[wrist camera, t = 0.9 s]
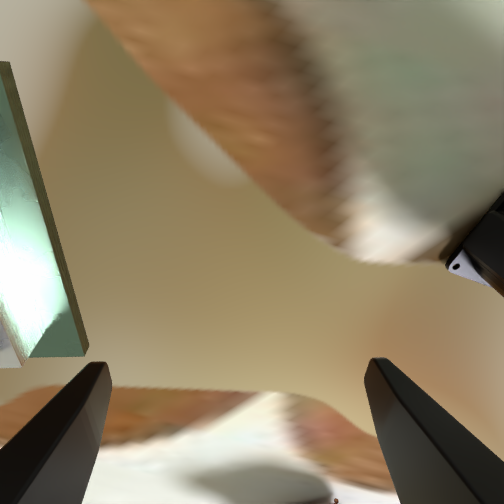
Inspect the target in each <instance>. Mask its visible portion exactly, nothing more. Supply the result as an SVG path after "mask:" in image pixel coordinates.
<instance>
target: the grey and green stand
mask: <svg viewBox="0 0 504 504" xmlns="http://www.w3.org/2000/svg"><path fill="white" fill-rule="evenodd" d="M88 348H89V342H88V339H87V335H86V332H85V328H84V325H83V321H82V317H81V314H80V310H79V307H78V304H77V300H76V296H75V293H74V289H73V285H72V282H71V279H70V275H69V271H68V268H67V264H66V261H65V257H64V254H63V251H62V247H61V243H60V239H59V236H58V232H57V229H56V225H55V222H54V218H53V215H52V211H51V208H50V204H49V200H48V197H47V193H46V190H45V186H44V183H43V179H42V175H41V172H40V168H39V165H38V161H37V158H36V154H35V151H34V147H33V144H32V140H31V137H30V133H29V129H28V126H27V122H26V119H25V116H24V112H23V108H22V105H21V101H20V98H19V94H18V91H17V87H16V83H15V80H14V76H13V73H12V69H11V65H10V62H4V61H0V368H21V367H22V366H23V365H24V363H25V361H26V360H27V359H28V358H29V357H77V356H78V357H80V356H85V354H86V352H87V350H88Z"/></svg>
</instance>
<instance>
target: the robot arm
mask: <svg viewBox="0 0 504 504" xmlns="http://www.w3.org/2000/svg"><path fill="white" fill-rule="evenodd" d="M455 264H456V265H455ZM453 265H455V266H453ZM445 266H446V268H447V269H448V270H449V271H450V272H451V273H454V274H456V275H460V276H462V277H465V278H467V279H470V280H473V281H476V282H478V283H481V284H484V285H487V286H490V287H492V288H494V289H495V290H496V291H497V292H498V293H499V294H501V295H502V296H503V297H504V193H503V194H502V195H501V196H500V197H499V199H498V200H497V201H496V202H495V204H494V205H493V206H492V207H491V208H490V210H489V211H488V212H487V213H486V214H485V216H484V217H483V218H482V219H481V221H480V222H479V223H478V224H477V225H476V227H475V228H474V229H473V230H472V231H471V233H470V234H469V235H468V236H467V238H466V239H465V240H464V241H463V242H462V244H461V245H460V246H459V247H458V248H457V250H456V251H455V252H454V253H453V255H452V256H451V257H450V258H449V259H448V261H447V262H446V264H445ZM364 384H365V388H366V393H367V397H368V401H369V405H370V409H371V413H372V417H373V422H374V426H375V430H376V434H377V437H378V441H379V444H380V447H381V450H382V453H383V455H384V458H385V461H386V464H387V467H388V470H389V472H390V475H391V478H392V481H393V484H394V486H395V489H396V492H397V495H398V498H399V500H400V503H401V504H504V462H503V461H502V460H501V459H500V458H499V457H498V456H497V455H495V454H494V453H493V452H492V451H491V450H490V449H489V448H488V447H486V446H485V445H484V444H483V443H482V442H481V441H480V440H479V439H477V438H476V437H475V436H474V435H473V434H472V433H471V432H470V431H468V430H467V429H466V428H465V427H464V426H463V425H462V424H460V423H459V422H458V421H457V420H456V419H455V418H454V417H453V416H452V415H450V414H449V413H448V412H447V411H446V410H445V409H444V408H442V407H441V406H440V405H439V404H438V403H437V402H436V401H435V400H433V399H432V398H431V397H430V396H429V395H428V394H427V393H426V392H424V391H423V390H422V389H421V388H420V387H419V386H418V385H417V384H415V383H414V382H413V381H412V380H411V379H410V378H409V377H408V376H406V375H405V374H404V373H403V372H402V371H401V370H400V369H399V368H397V367H396V366H395V365H394V364H393V363H392V362H391V361H390V360H388V359H387V358H384V357H380V358H372V359H371V360H370V362H369V364H368V367H367V371H366V373H365V377H364ZM111 391H112V380H111V376H110V372H109V368H108V365H107V363H106V362H90V363H88V364H87V365H86V366H85V367H84V368H83V369H82V370H81V371H80V372H79V373H78V374H77V375H76V376H75V377H74V378H73V379H72V380H71V381H70V382H69V383H68V384H67V385H66V386H65V387H64V388H63V389H61V390H60V391H59V392H58V393H57V394H56V395H55V396H54V397H53V398H52V399H51V400H50V401H49V402H48V403H47V404H46V405H45V406H44V407H43V408H42V409H41V410H40V411H39V412H38V413H37V414H36V415H35V416H34V417H33V418H32V419H31V420H30V421H29V422H28V423H27V424H26V425H25V426H24V427H23V428H22V429H21V430H19V431H18V432H17V433H16V434H15V435H14V436H13V437H12V438H11V439H10V440H9V441H8V442H7V443H6V444H5V445H4V446H3V447H2V448H1V449H0V504H82V501H83V498H84V495H85V491H86V488H87V485H88V482H89V479H90V476H91V473H92V470H93V467H94V464H95V461H96V457H97V454H98V451H99V447H100V443H101V438H102V433H103V429H104V424H105V419H106V415H107V410H108V405H109V400H110V396H111Z"/></svg>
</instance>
